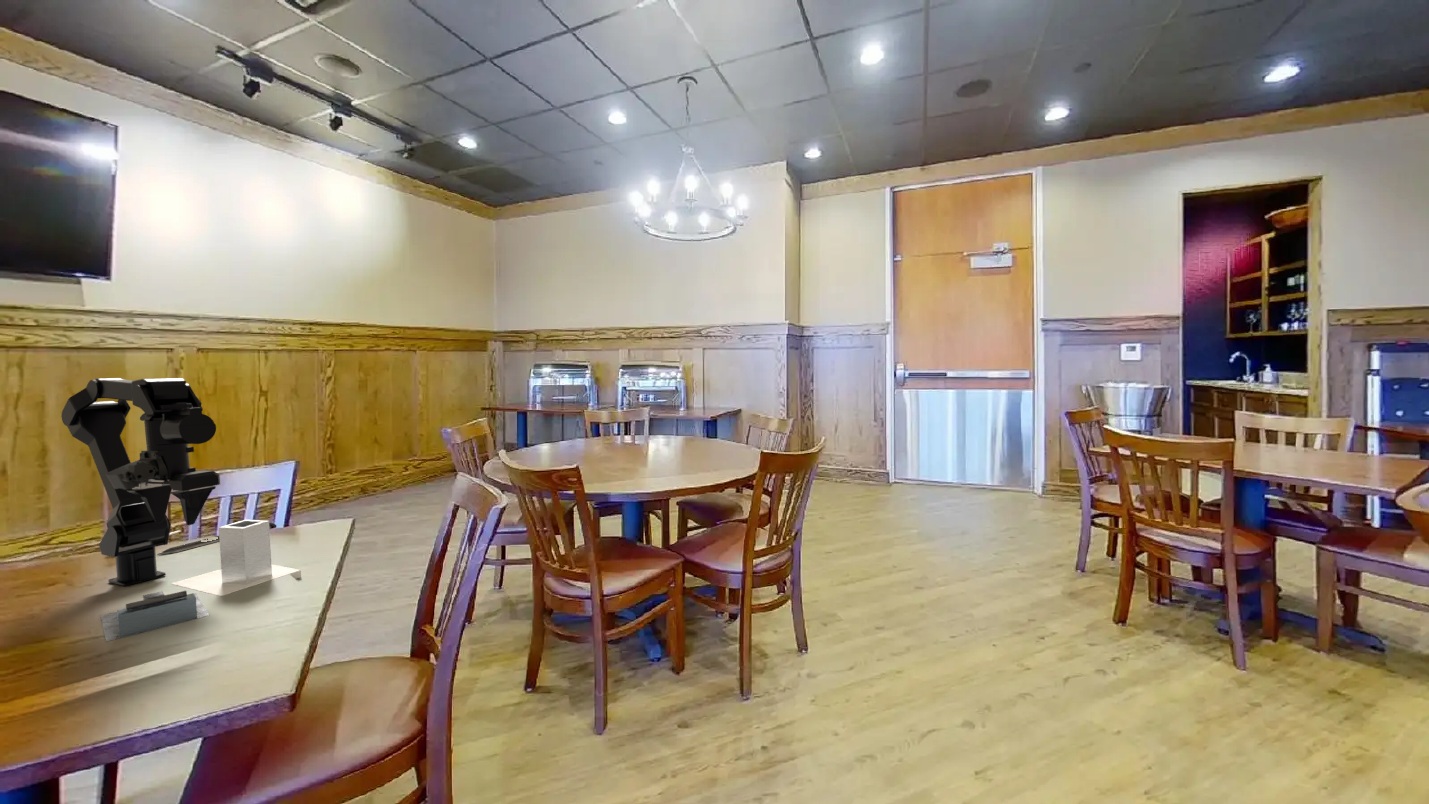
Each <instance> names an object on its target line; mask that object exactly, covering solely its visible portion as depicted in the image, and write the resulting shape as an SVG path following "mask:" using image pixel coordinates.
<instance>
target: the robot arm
mask: <svg viewBox="0 0 1429 804" xmlns="http://www.w3.org/2000/svg"><path fill="white" fill-rule="evenodd" d="M98 399H110V400H104V401H103V400H102V401H98ZM114 400H117V401H114ZM128 401H129V402H132V405H133V406H134V407H137V408H139V409H141V411H143V412H144V413H142V414H141V415H140V417H139V420H140V421H143V422H144V431H145V432H144V433H145V442H146V449H145V450H141V452H140V453H139V459H138V460H135V461H133V462H131V460H130V457H129V454H128V452H127V450H126V446H125V444H124V442H123V440H122V437H121V435H122V433H123V431H124V428H125V427H126V424H127V419H126V417H127V416H128V415H129V413H130V411H131V409H132V407H131V405H130V404H129V402H128ZM202 404H203V403H202V402H201V400H200V399H199V398H198V396H197V395H196V393H194V391H193V389H192V386H191V385H190V384H189V383H187V381H186V380H185V379H184V378H182V377H178V378H177V377H176V378H175V377H174V378H173V377H172V378H141V379H135V380H132V379H131V380H130V379H125V378H121V377H109V378H108V377H105V378H100V377H99V378H94V379H90V380H89V381H88V382H87V385H85V388H83V389H81V390H80V391H78V392H76V393H74V394H73V395H72V396H70V397H69V398H68V399H67V401H66V403H65V405H64V407H63V409H62V411H61V416H60V417H61V420H62V424H63V425H64V426H66V427H67V429H68V431H69V433H70V435H71V436H72V437H73V438H74V439H76V440H78V441H80V442H81V443H83V444H85V445H87V447H88V449H89V451H90V454H91V456H92V459H93V461H94V464H95V466H96V469H97V472H98V475H99V477H100V480H101V481H102V484H103V487H104V490H105V492H106V495H107V497H108V500H109V502H110V505H111V508H112V510H111V513H110V514H109V517H108V519H107V521H106V527H107V530H106V531H105V532H104V535H103V536H102V538H101V541H100V542H99V543H98V545H99V546H98V547H99V551H100V554H101V555H102V556H103V555H104V556H107V557H111V558H115V567H116V568H115V569H116V570H115V571H116V577H112V578H109V579H108V583H110V584H115V585H119V586H122V587H127V586H130V585H131V586H132V585H135V584H139V583H143V582H146V581H150V580H153V579H157V578H161V577H165V576H166V575H167V574H166V572H164V571H161V570H157V559H156V558H157V554H156V547H160V546H167V545H168V542H169V538H170V536H169V533H171V522H170V520H169V518H168V515H167V510H168V506H169V503H170V502H169V501H170V497H171V495H173V496H174V497H176V498H177V499H179V501H180V506H181V509H182V514H183V519H184V522H185V524H186V525H187V526H191V525H194V524H195V523H196V521H197V519H198V518H199V516H200V513H201V512H202V509H203V507H204V505H206V504H205V503H206V502H207V500H208V498H209V497H210V495H211V494H212V491H213V490H215V489H216V486H218V485H221V477H220V474H219V473H218V472H216V471H215V470H198V471H197V469H196V467H191V466H190V465H191V464H190V456H189V455H190V453H194V452H195V449H194V448H195V447H194V446H189V445H201V444H204V443H207V442H209V441H210V440H212V439H213V438H214V436H215V434H216V431H217V425H216V423H215V421H214V420H213V419H212V418H211V417H210V416H209V415H207V414H204V413H203V406H202Z"/></svg>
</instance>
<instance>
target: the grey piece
mask: <svg viewBox="0 0 1429 804" xmlns="http://www.w3.org/2000/svg"><path fill="white" fill-rule="evenodd" d="M187 593H188V592H187V590H182V591H179V592H178V591H177V592H174V593H170V594H165V593H164V592H163V590H161V591H157V592H153V593H149V594H143V595H142V600H138V601H134V602H133V601H132V602H130V603H125V608H123V609H118V610H116V611H113V612H109V613H105V614H101V615H100V620H101V625H102V630H103V635H104V640H105V642H106V643H108V642H111V641H114V640H119V639H124V638H127V637H131V636H135V635H139V634H143V633H147V632H151V631H154V630H158V629H162V628H166V627H170V626H175V625H177V624H182V623H186V622H189V621H193V620H197V619H202V618H205V617H209V616H210V614H209V612H208V610H207V609H206V607H205V606H204V605H203V602H202V601H201V600H200V598H199V596H198V595H197V593H188V594H187Z"/></svg>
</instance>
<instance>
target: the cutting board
mask: <svg viewBox="0 0 1429 804" xmlns="http://www.w3.org/2000/svg"><path fill="white" fill-rule="evenodd" d="M271 564H272V575H269V576H267V577H264V578H262V579H259V580H257V581H254V582H252V583H249V584H247V585H244V584H229V583H222V572H221V568H220V569H216V570H213V571H209V572H205V573H203V574H199V575H195V576H191V577H189V578H186V579H181V580H179V581H178V580H177V581H174V582H171V583H170V585H173V586H174V585H175V586H177V587H178V586H179V587H181V588H182V587H183V588H186V589H191V590H194V591H199V592H203V593H207V594H210V595H214V596H219V597H223V596H226V595H229V594H232V593H235V592H238V591H241V590H245V589H247V588H251V587H254V586H256V585H259V584H263V583H266V582H269V581H272V580H275V579H276V580H277V579H278V578H281V577H284V576H287V575H290V576H291V577H292V578H293V579H295V580H297V579H300V578H302V570H301V569H297V568H294V567H293V568H291V567H288V566H287V567H286V566H283V565H278V564H273V563H271Z"/></svg>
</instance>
